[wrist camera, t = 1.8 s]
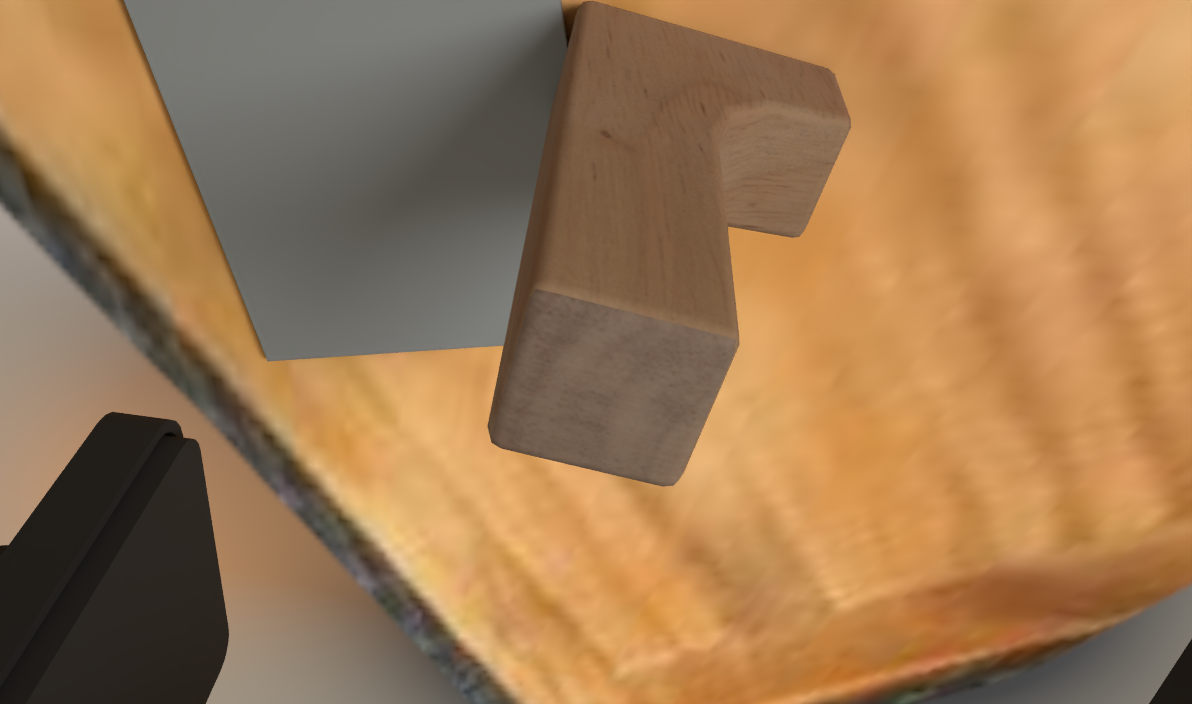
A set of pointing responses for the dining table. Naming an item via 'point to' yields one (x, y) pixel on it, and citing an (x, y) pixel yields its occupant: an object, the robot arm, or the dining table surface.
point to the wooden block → (651, 236)
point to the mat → (363, 158)
